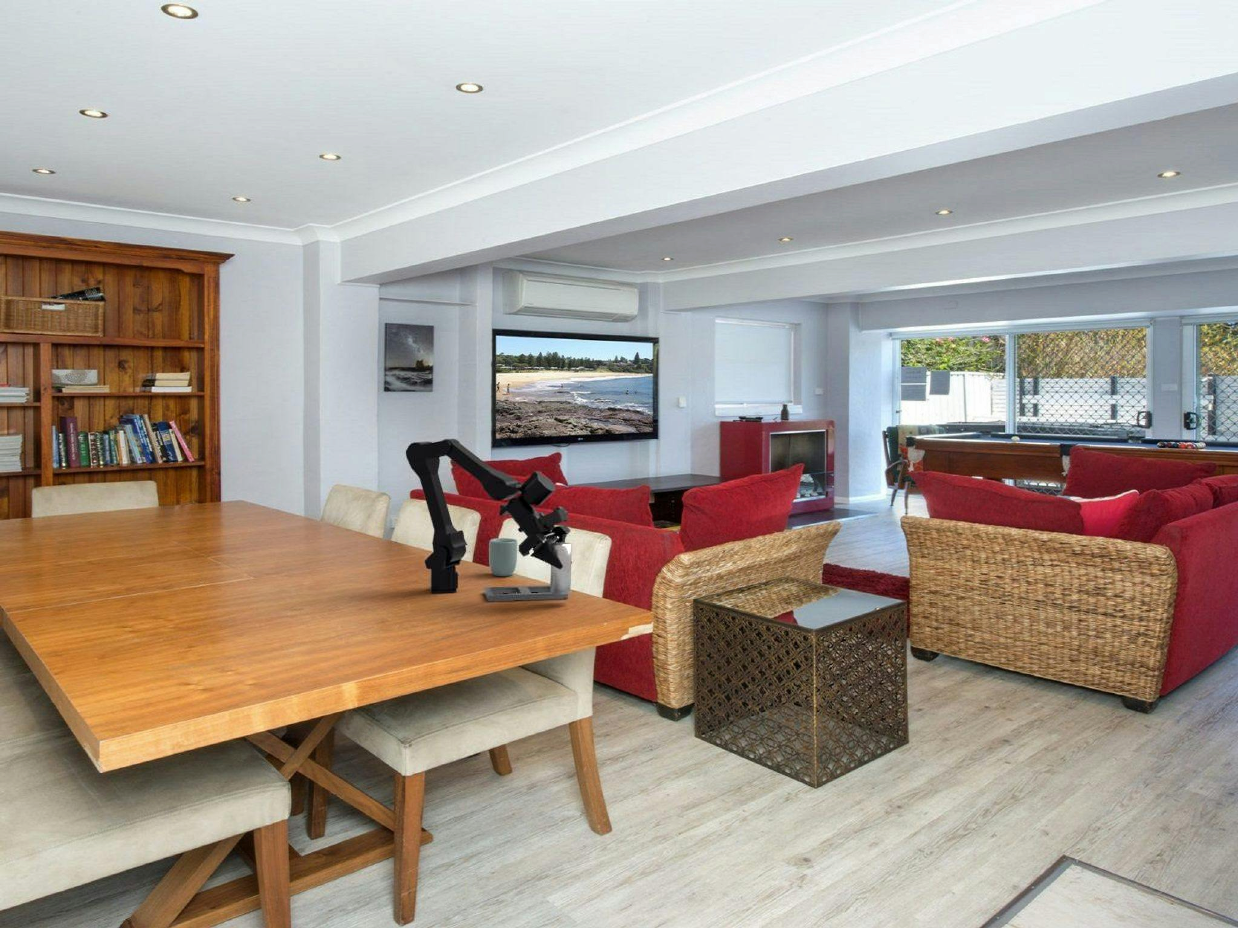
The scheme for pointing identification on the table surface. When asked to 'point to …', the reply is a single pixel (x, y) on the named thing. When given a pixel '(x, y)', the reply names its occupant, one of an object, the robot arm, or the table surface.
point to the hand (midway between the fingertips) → (566, 566)
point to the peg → (561, 577)
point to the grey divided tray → (521, 593)
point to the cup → (503, 556)
